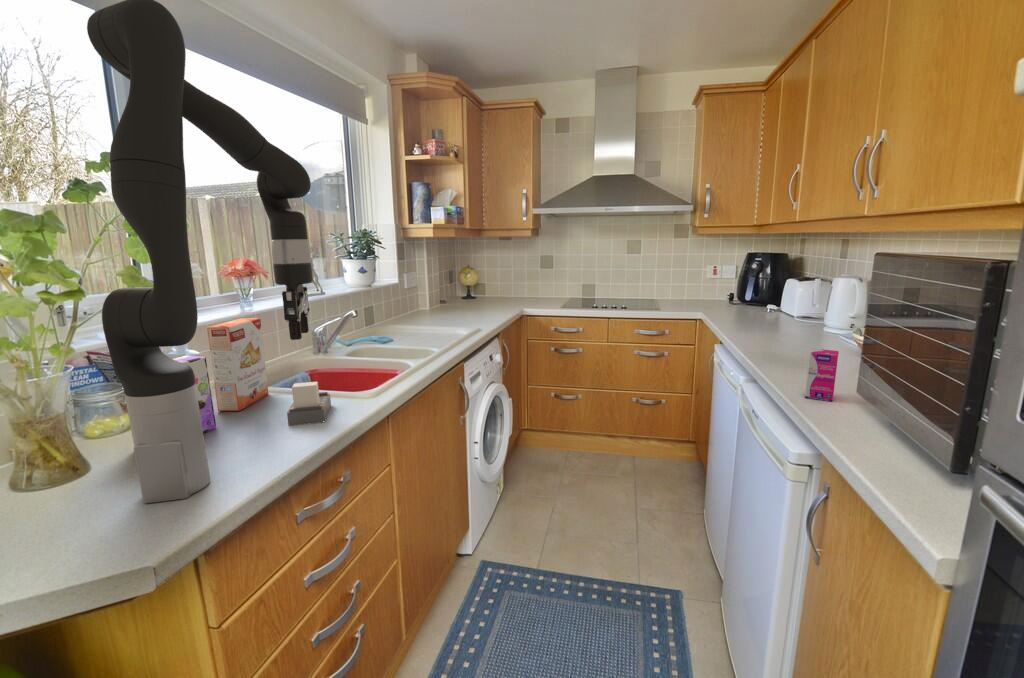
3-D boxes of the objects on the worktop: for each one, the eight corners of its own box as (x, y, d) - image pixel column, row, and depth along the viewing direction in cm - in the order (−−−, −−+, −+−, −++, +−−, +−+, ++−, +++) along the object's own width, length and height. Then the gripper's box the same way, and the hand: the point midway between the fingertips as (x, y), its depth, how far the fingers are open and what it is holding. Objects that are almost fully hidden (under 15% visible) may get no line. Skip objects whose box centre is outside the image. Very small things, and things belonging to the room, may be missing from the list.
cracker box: (241, 411, 117) (229, 326, 113) (216, 412, 118) (204, 326, 113) (270, 393, 131) (261, 317, 127) (248, 394, 131) (238, 317, 127)
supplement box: (804, 398, 118) (808, 352, 116) (806, 392, 123) (810, 347, 121) (832, 402, 115) (838, 355, 113) (833, 395, 120) (838, 350, 117)
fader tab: (318, 406, 110) (315, 385, 109) (294, 408, 109) (291, 387, 108) (319, 402, 112) (317, 381, 112) (296, 404, 111) (294, 383, 110)
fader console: (324, 422, 109) (323, 406, 109) (288, 425, 108) (286, 410, 107) (331, 405, 120) (329, 391, 120) (298, 408, 119) (296, 394, 118)
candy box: (155, 454, 94) (140, 372, 91) (133, 450, 96) (118, 370, 93) (217, 428, 107) (207, 355, 104) (198, 425, 109) (186, 353, 106)
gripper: (304, 261, 98) (312, 340, 101) (316, 260, 112) (322, 329, 115) (264, 263, 97) (273, 343, 100) (280, 261, 110) (288, 331, 113)
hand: (300, 336), depth 107 cm, fingers open, 8 cm apart
